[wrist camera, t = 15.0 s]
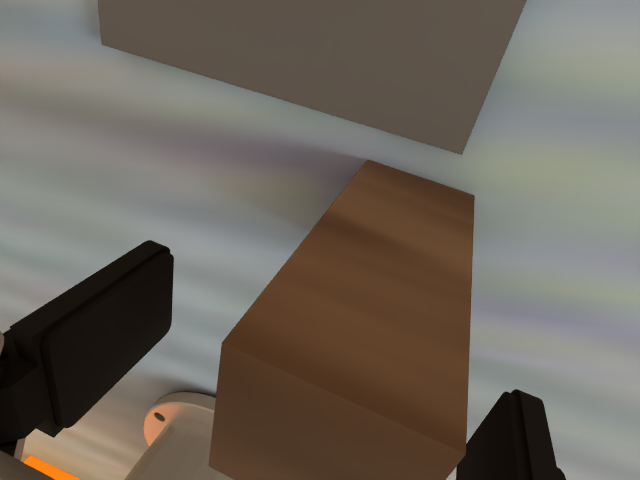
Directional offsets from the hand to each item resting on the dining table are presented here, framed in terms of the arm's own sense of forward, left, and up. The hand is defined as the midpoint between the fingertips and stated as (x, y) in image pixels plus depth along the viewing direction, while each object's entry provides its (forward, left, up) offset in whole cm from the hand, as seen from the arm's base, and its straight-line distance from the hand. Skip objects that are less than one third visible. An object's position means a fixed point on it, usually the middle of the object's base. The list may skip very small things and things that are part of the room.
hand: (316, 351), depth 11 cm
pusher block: (+1, -1, -7) cm, 7 cm away
